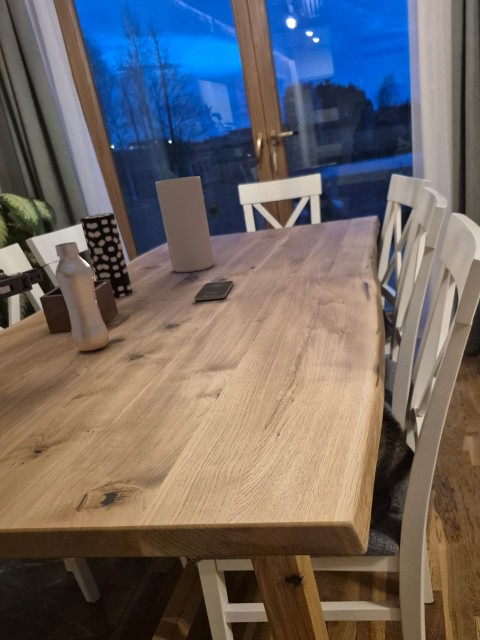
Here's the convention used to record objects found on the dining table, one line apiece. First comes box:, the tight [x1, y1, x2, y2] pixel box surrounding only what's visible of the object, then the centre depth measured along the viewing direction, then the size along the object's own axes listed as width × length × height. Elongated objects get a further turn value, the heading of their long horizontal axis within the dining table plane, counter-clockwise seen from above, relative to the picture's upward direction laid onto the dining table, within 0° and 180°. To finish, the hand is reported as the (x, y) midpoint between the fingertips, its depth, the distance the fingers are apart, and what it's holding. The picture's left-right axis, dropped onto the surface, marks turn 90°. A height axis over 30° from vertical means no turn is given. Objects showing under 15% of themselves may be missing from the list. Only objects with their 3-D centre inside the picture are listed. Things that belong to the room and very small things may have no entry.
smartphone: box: [194, 280, 234, 301], centre depth 142 cm, size 8×1×15 cm
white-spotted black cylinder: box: [79, 212, 133, 299], centre depth 149 cm, size 8×8×20 cm
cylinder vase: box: [154, 175, 215, 273], centre depth 168 cm, size 12×12×25 cm
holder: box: [39, 279, 119, 335], centre depth 128 cm, size 12×12×8 cm
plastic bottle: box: [54, 241, 110, 352], centre depth 108 cm, size 6×7×20 cm
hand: (21, 274), depth 96 cm, fingers open, 8 cm apart
